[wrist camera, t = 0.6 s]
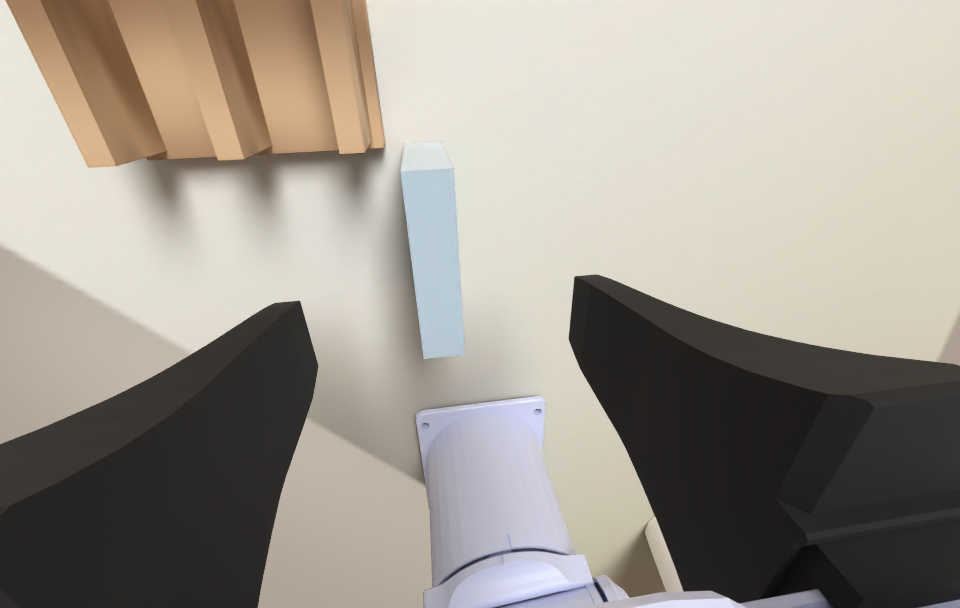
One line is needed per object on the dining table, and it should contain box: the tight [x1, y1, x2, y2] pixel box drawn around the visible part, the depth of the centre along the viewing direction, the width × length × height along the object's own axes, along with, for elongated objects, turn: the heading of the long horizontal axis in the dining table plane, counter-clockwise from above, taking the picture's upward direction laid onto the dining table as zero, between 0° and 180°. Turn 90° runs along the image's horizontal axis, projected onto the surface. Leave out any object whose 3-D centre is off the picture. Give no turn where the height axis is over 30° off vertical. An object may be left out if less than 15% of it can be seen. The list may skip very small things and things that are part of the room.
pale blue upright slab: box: [400, 141, 465, 359], centre depth 16 cm, size 7×2×6 cm, turn 2°
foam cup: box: [645, 516, 683, 592], centre depth 30 cm, size 10×9×13 cm
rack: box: [6, 0, 385, 168], centre depth 13 cm, size 9×9×4 cm
